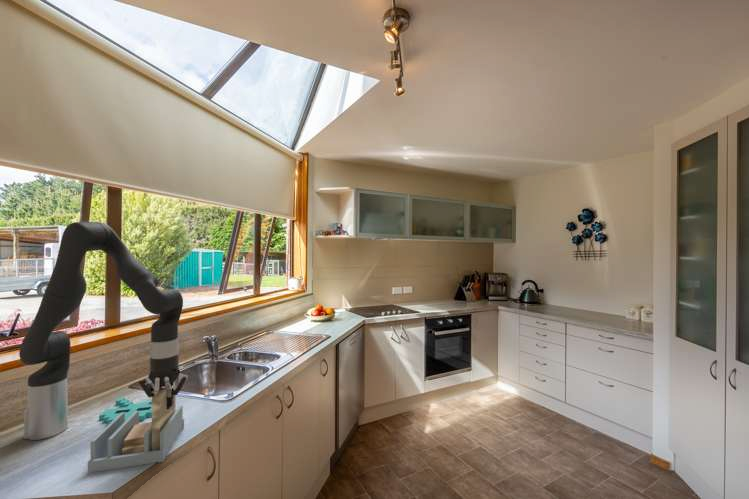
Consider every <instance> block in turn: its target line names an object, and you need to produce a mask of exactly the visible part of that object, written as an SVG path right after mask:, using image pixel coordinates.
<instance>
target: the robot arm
mask: <svg viewBox="0 0 749 499" xmlns="http://www.w3.org/2000/svg"><path fill="white" fill-rule="evenodd" d="M96 251H102V252H103V253H105V254H107V255H108V256H109V257H110V258H111V259H112V260H113V263H114V265H115V269H116V273H117V276H118V277H119V279H120V280H121V281H122V283H124V284H125V285H126V286H127V287H129V289H130V290H131V291H133V292H134V293H135V294H136V296H137V298H138V300H139V302H141V305H142V306H143V308H144V309H145V310H146V311H147V312H149V313H151V314H153V315H159V317H158V319H157V320H155V321H154V322H153V323H152V324H151V327H150V328H151V330H150V347H149V374H148V376H147V377H143V378H142V379H141V380H140V381H139V382H138V384H139V386H140V387H141V388H142V390H143V392H144V393H145V394H146V396H147V398H152V397H153V396H154V395H155V394H156V393H157V392H158V391H159V390H160V389H161V388H162V387H163V386H165V387H166V391H167V409H170V408H171V407H172V405H173V403H174V395H175V396H177V395H178V394H179V393H180V391H181V390H182V389H183V387H184V385H185V383H186V381H187V380H188V378H190V377H189V374H187V373H185V374H183V373H181V370H180V369H179V364H180V363H179V361H180V360H179V359H180V358H179V356H180V355H179V354H180V353H179V352H180V346H179V345H180V344H179V327H178V326H179V322H180V318H181V314H182V310H183V308H184V307H183V306H184V298H183V295H182V293H181V292H180V291H179V290H177V289H174V288H170V289H169V288H168V289H164V290H163V289H162V290H160V289H159V288H158V286H159V283H160V281H159V279H158V278H157V277H156V276H155V274H154V273H153V272H152V271H150V270H149V269H147V267H145V265H143V264H142V263H141V261H139V260H138V259H137V258H136V257H135V256H134V254H132V252H131V250H130V249H129V248H128V246H126V244H125V243H124V242H123V241H122V239H121V238H120V237H119V235H118V234H117V233H116V231H114V229H113V228H112V227H111V226H110V225H109V224H107V223H105V222H100V221H76V222H72V223H69V224H68V225H67V226H66V227H65V229H64V231H63V232H62V236H61V240H60V243H59V248H58V253H57V257H56V260H55V264H54V267H53V269H52V272H51V276H50V279H49V281H48V283H47V285H46V287H45V290H44V293H43V296H42V299H41V301H40V305H39V308H38V310H37V312H36V315H35V317H34V319H33V320H32V322H31V325H30V326H29V328H28V330H27V332H26V333H25V336H24V337H23V340H22V342H21V344H20V348H19V359H20V362H21V363H23V364H24V365H27V366H34V365H39V364H44V363H45V364H44V365H43V366H42V367H41V368H40V369H38V370H36V371H35V372H33V373H32V374H31V373H30V375H29V376H28V378H27V408H25V409H24V411H23V439H24V440H31V441H39V440H44V439H48V438H52V437H54V436H57V435H59V434H61V433H63V432H64V431H66V430H67V428H68V423H69V420H68V418H69V417H68V413H69V412H68V411H69V410H68V408H69V407H68V404H69V403H68V400H69V399H68V398H69V397H68V373H69V370H70V365H71V364H70V361H71V360H70V359H71V340H70V336H69V334H68V333H67V332H66V331H63V330H56V331H54V330H55V328H57V327H58V326H59V325H60V324H61V323H63V321H65V320H66V319H67V318H69V316H71V315H72V314H73V313H74V312H75V311H76V310H78V308H79V307H80V305H81V303H82V302H83V299H84V296H85V293H86V292H87V281H86V278H85V276H84V275H83V272H82V270H81V265H82V262H83V259H84V257H85V255H86V254H87V252H96ZM177 379H178V382H179V383H178V385H177V386H176V389H175V390H174V381H175V380H176V381H177ZM151 382H152V384H153V385H154V387H153V386H152V384H151Z"/></svg>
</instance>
